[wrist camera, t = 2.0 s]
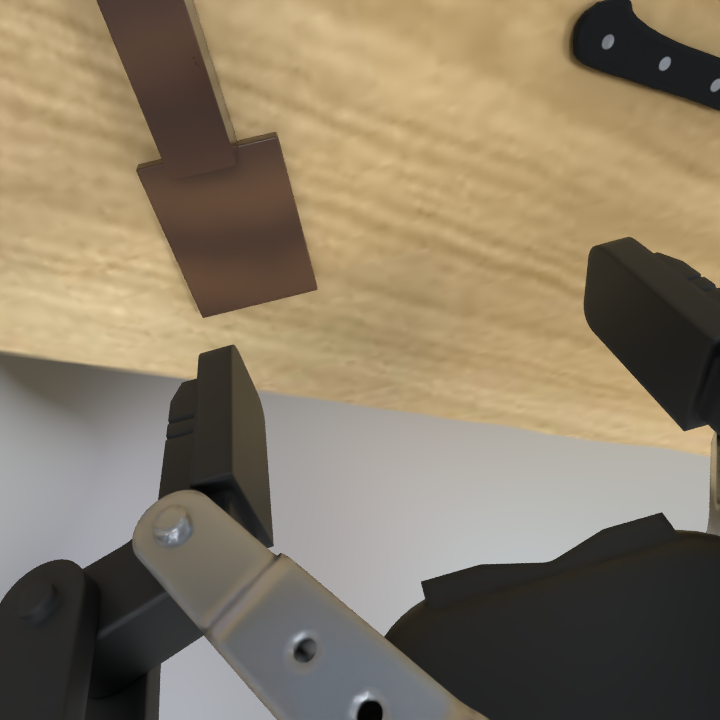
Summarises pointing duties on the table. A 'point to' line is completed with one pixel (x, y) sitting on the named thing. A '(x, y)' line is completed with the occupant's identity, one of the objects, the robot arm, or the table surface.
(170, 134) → the spatula
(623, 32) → the cleaver
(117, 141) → the table surface
